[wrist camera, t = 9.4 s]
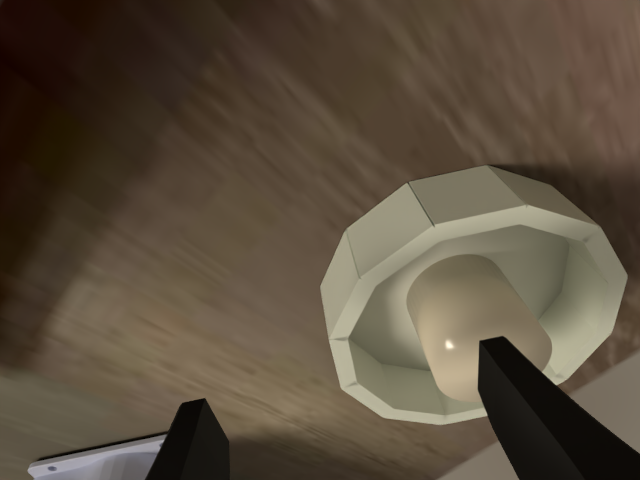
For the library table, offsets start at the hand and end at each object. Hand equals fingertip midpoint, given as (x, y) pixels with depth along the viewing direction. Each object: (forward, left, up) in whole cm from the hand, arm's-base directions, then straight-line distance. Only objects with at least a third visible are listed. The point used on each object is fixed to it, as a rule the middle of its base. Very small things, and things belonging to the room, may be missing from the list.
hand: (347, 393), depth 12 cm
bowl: (+6, -6, -9) cm, 13 cm away
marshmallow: (+6, -6, -9) cm, 12 cm away
